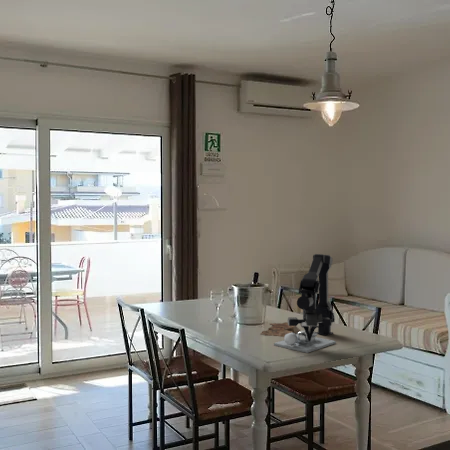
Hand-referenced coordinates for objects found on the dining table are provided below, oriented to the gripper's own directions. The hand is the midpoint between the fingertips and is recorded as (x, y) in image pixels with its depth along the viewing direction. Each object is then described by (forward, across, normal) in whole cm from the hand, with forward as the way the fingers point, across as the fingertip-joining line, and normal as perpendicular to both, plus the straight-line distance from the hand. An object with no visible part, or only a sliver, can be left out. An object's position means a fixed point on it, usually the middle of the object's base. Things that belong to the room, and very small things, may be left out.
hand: (309, 340), depth 247 cm
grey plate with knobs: (+3, -1, +6) cm, 7 cm away
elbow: (+2, 0, +7) cm, 7 cm away
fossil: (+3, -10, +29) cm, 31 cm away
